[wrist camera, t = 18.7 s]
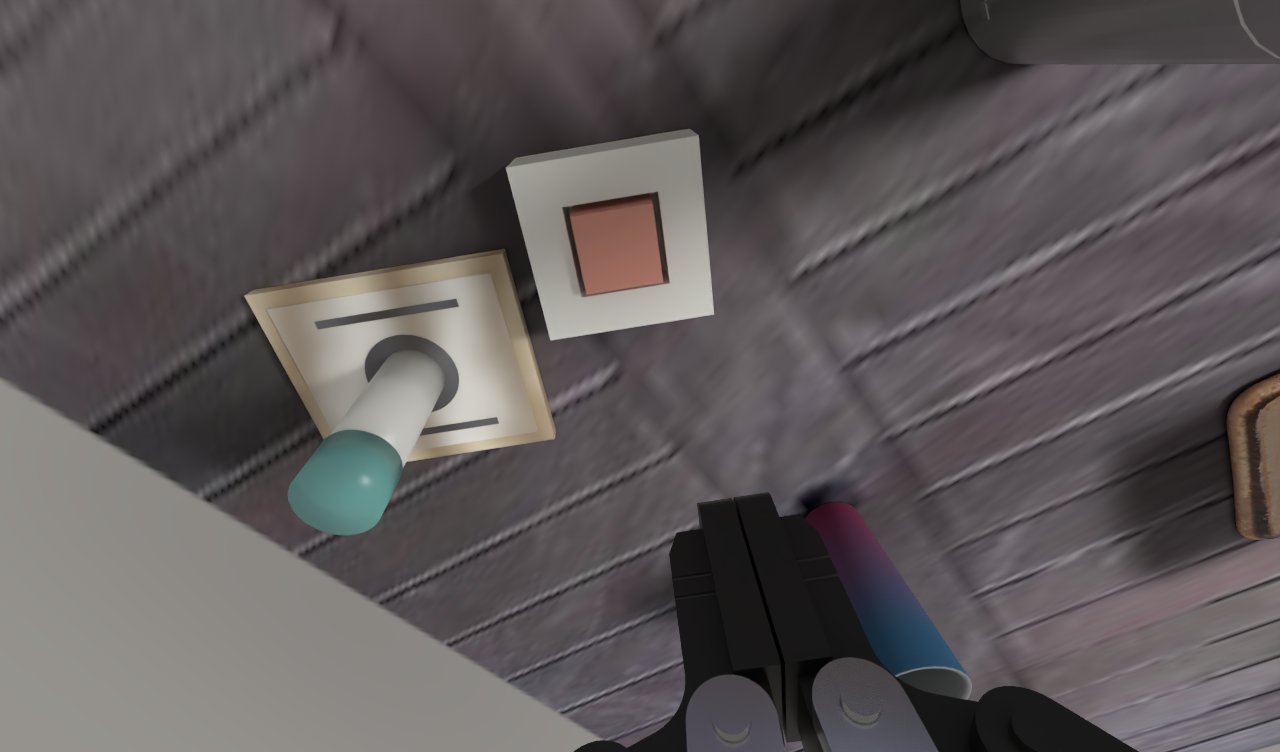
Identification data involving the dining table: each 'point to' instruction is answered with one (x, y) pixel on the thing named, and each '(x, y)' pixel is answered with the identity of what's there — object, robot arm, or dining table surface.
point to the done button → (617, 243)
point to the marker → (368, 447)
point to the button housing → (606, 174)
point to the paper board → (415, 347)
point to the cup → (887, 605)
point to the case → (1256, 459)
